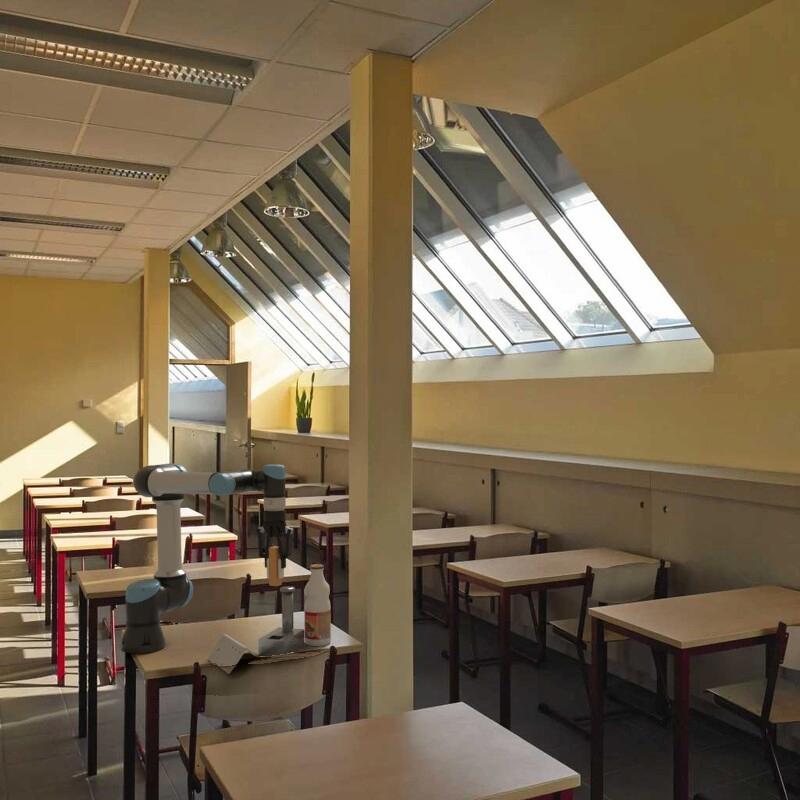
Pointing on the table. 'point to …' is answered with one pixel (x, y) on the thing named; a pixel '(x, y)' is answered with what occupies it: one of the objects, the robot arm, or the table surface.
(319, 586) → the fruit juice
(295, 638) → the grey post stand
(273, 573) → the tan wooden beam
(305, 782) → the table surface
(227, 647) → the bracket
